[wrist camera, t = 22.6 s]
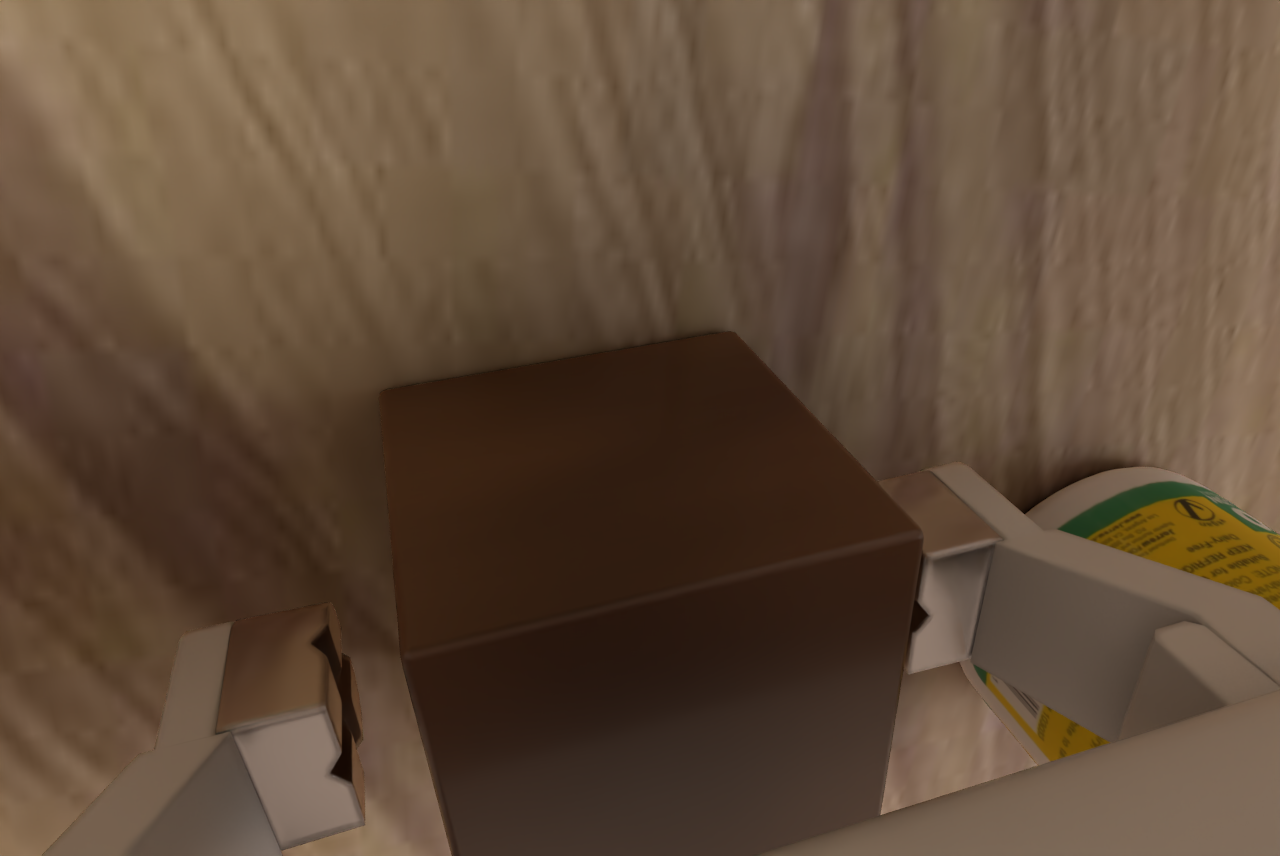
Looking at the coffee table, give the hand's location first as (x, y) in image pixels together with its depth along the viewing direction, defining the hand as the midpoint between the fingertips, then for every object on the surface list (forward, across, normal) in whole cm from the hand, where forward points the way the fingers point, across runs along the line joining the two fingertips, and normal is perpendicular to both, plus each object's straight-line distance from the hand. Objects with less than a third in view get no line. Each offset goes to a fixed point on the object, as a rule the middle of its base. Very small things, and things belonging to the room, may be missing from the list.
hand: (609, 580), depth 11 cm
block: (+2, 0, 0) cm, 2 cm away
